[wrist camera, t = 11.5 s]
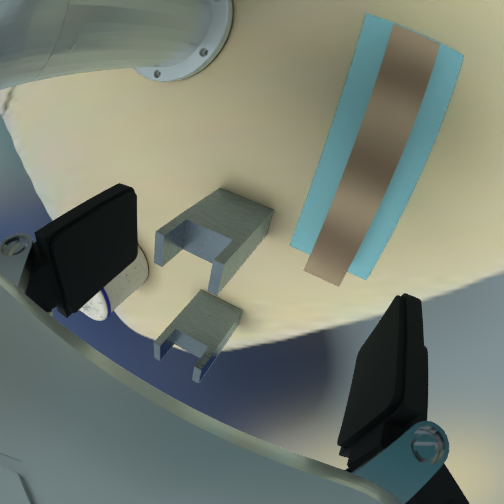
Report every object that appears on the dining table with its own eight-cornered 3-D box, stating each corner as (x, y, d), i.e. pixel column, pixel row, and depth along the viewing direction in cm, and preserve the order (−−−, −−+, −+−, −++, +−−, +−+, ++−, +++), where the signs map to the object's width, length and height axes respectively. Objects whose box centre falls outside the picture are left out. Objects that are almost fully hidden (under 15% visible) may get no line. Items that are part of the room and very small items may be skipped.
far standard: (201, 289, 38) (153, 342, 30) (242, 310, 37) (201, 370, 29) (198, 305, 40) (154, 357, 32) (237, 325, 39) (198, 383, 31)
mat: (366, 14, 17) (366, 13, 16) (462, 56, 15) (463, 55, 15) (291, 242, 30) (289, 245, 29) (366, 276, 28) (365, 280, 28)
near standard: (219, 188, 30) (155, 231, 22) (273, 210, 29) (223, 264, 21) (214, 213, 32) (154, 262, 24) (265, 236, 30) (216, 295, 22)
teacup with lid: (129, 221, 37) (62, 267, 28) (161, 281, 40) (104, 335, 31) (88, 240, 44) (33, 278, 35) (115, 288, 47) (66, 331, 38)
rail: (391, 34, 16) (393, 23, 13) (431, 51, 16) (440, 43, 13) (314, 247, 28) (303, 270, 25) (345, 261, 27) (339, 286, 24)
